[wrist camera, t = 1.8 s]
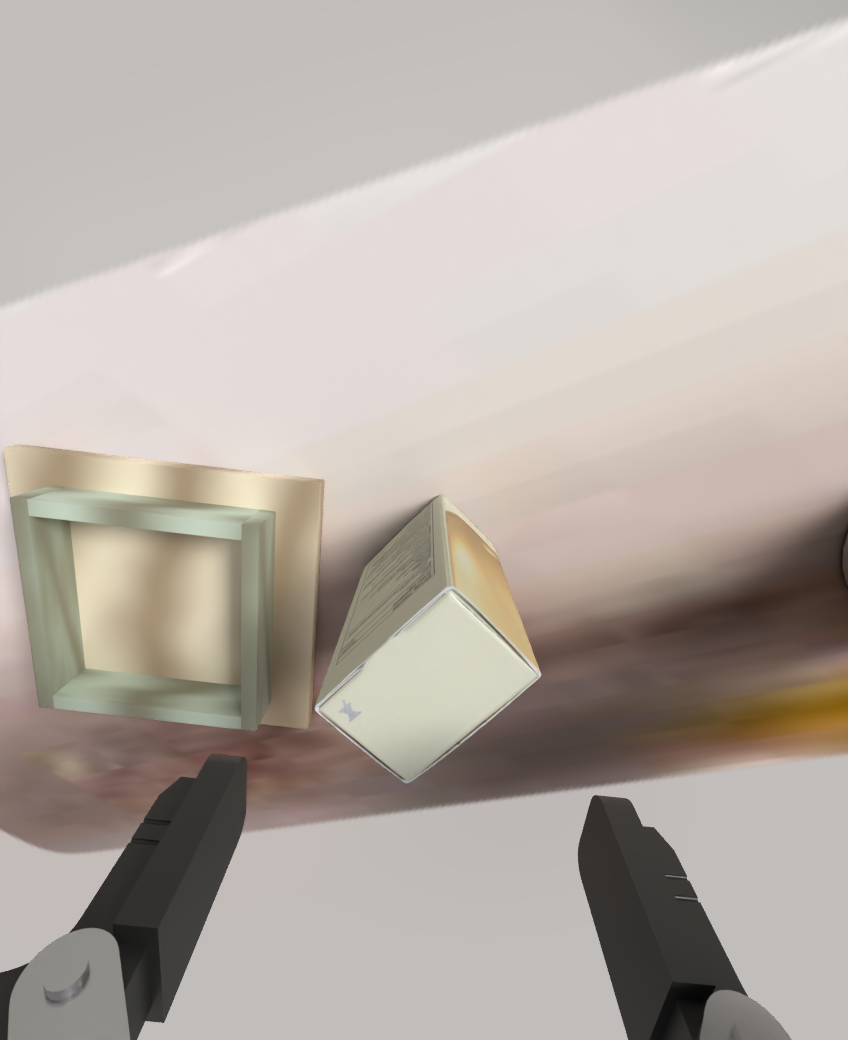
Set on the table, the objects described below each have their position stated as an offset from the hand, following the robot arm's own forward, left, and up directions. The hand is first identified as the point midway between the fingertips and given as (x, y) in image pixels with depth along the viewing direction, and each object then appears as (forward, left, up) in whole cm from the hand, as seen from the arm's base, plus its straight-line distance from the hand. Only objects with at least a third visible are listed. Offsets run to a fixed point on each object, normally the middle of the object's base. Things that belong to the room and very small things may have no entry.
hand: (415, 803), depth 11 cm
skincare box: (0, 0, -16) cm, 16 cm away
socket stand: (+14, +4, -16) cm, 22 cm away
